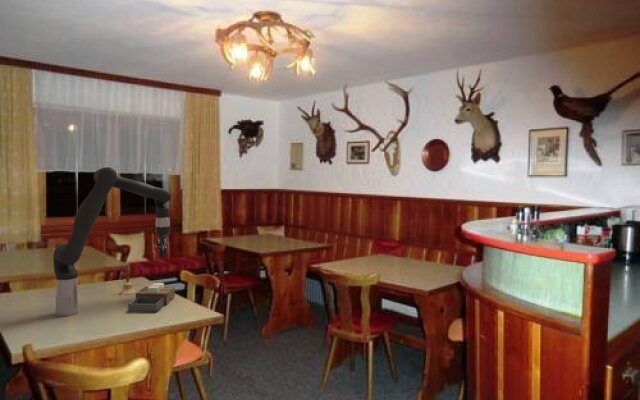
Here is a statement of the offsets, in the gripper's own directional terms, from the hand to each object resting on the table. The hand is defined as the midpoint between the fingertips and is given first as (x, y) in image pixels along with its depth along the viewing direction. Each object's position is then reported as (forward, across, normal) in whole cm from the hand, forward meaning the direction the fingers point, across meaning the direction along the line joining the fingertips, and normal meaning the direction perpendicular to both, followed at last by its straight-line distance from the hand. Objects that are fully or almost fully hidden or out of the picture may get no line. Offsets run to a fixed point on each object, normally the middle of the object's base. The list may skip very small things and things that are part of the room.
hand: (162, 255), depth 255 cm
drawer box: (+22, +12, 0) cm, 25 cm away
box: (+22, +25, 0) cm, 34 cm away
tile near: (+16, +14, 0) cm, 22 cm away
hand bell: (+23, -4, -21) cm, 31 cm away
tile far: (+16, +8, 0) cm, 18 cm away
